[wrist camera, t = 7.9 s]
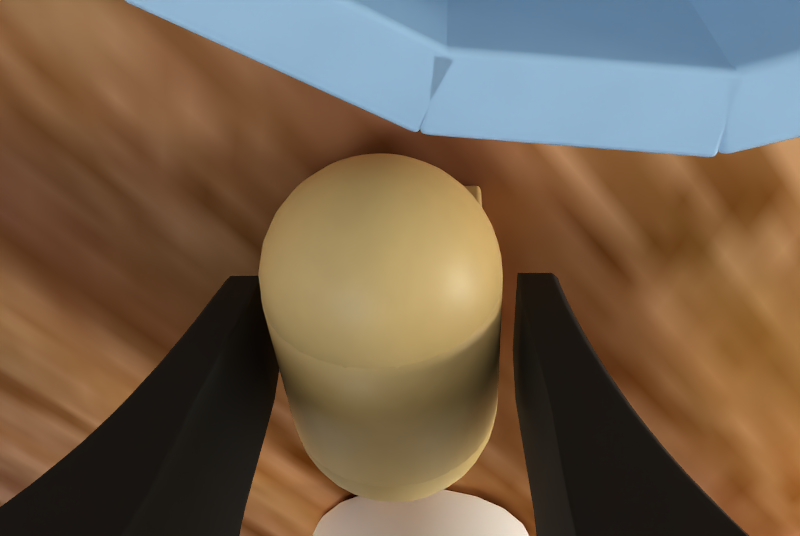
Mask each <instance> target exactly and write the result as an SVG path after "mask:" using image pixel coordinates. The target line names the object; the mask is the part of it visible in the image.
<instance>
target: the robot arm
mask: <svg viewBox="0 0 800 536" xmlns="http://www.w3.org/2000/svg"><path fill="white" fill-rule="evenodd" d="M513 361H514V380H515V397H516V405H517V411H518V417H519V423H520V430H521V436H522V442H523V448H524V454H525V460H526V466H527V472H528V478H529V484H530V490H531V496H532V502H533V508H534V516H535V524H536V532H537V536H749V535H748V534H747V533H746V532H745V531H744V530H743V529H741V528H740V527H739V526H738V525H737V524H736V523H735V522H734V521H733V520H732V519H731V518H730V517H729V516H728V515H727V514H726V513H725V512H724V511H723V510H722V509H721V508H720V507H719V506H718V505H717V504H716V503H715V502H714V501H713V500H712V499H711V498H710V497H709V496H708V495H707V494H706V493H705V492H704V491H703V490H702V489H701V488H700V487H699V486H698V485H697V484H696V483H695V481H694V480H693V479H692V478H691V477H690V476H689V475H688V474H687V473H686V472H685V471H684V470H683V469H682V467H681V466H680V465H679V464H678V463H677V462H676V461H675V460H674V458H673V457H672V456H671V455H670V454H669V453H668V452H667V450H666V449H665V448H664V447H663V446H662V444H661V443H660V442H659V441H658V440H657V438H656V437H655V436H654V435H653V433H652V432H651V431H650V430H649V429H648V427H647V426H646V425H645V423H644V422H643V421H642V420H641V418H640V417H639V416H638V414H637V413H636V412H635V410H634V409H633V408H632V406H631V405H630V404H629V402H628V401H627V399H626V398H625V396H624V395H623V394H622V392H621V391H620V389H619V388H618V386H617V385H616V384H615V382H614V381H613V379H612V378H611V376H610V375H609V373H608V372H607V370H606V369H605V367H604V365H603V364H602V362H601V360H600V359H599V357H598V355H597V354H596V352H595V351H594V349H593V347H592V346H591V344H590V342H589V341H588V339H587V337H586V336H585V334H584V332H583V330H582V328H581V327H580V325H579V323H578V321H577V319H576V317H575V315H574V313H573V311H572V309H571V307H570V305H569V303H568V301H567V299H566V297H565V295H564V293H563V290H562V288H561V286H560V283H559V280H558V278H557V277H556V276H555V275H554V274H553V273H518V275H517V291H516V307H515V323H514V339H513ZM278 373H279V365H278V362H277V358H276V354H275V351H274V347H273V344H272V340H271V336H270V333H269V329H268V325H267V322H266V318H265V314H264V311H263V306H262V301H261V291H260V283H259V276H230V277H229V278H228V279H227V280H226V281H225V282H224V284H223V285H222V286H221V288H220V289H219V290H218V291H217V293H216V294H215V295H214V297H213V298H212V299H211V301H210V302H209V303H208V304H207V306H206V307H205V308H204V310H203V311H202V312H201V313H200V315H199V316H198V317H197V319H196V320H195V321H194V322H193V324H192V325H191V326H190V327H189V329H188V330H187V331H186V332H185V334H184V335H183V336H182V337H181V338H180V340H179V341H178V342H177V343H176V344H175V346H174V347H173V348H172V349H171V350H170V352H169V353H168V354H167V355H166V356H165V358H164V359H163V360H162V361H161V362H160V363H159V365H158V366H157V367H156V368H155V369H154V370H153V371H152V372H151V373H150V375H149V376H148V377H147V378H146V379H145V380H144V381H143V382H142V383H141V384H140V385H139V387H138V388H137V389H136V390H135V391H134V392H133V393H132V394H131V395H130V396H129V397H128V398H127V399H126V401H125V402H124V403H123V404H122V405H121V406H120V407H119V408H118V409H117V410H116V411H115V412H114V413H113V414H112V415H111V416H110V417H109V418H107V419H106V420H105V421H104V422H103V423H102V424H101V425H100V426H99V427H98V428H97V429H96V430H95V431H94V432H93V433H92V434H90V435H89V436H88V437H87V438H86V439H85V440H84V441H83V442H82V443H81V444H79V445H78V446H77V447H76V448H75V449H74V450H72V451H71V452H70V453H69V454H68V455H67V456H65V457H64V458H63V459H62V460H60V461H59V462H58V463H57V464H56V465H54V466H53V467H52V468H51V469H49V470H48V471H47V472H46V473H45V474H43V475H42V476H41V477H40V478H38V479H37V480H36V481H35V482H34V483H32V484H31V485H30V486H28V487H27V488H26V489H24V490H23V491H22V492H20V493H19V494H18V495H16V496H15V497H13V498H12V499H11V500H9V501H8V502H7V503H5V504H4V505H3V506H1V507H0V536H239V534H240V529H241V524H242V519H243V515H244V511H245V506H246V502H247V499H248V495H249V491H250V488H251V484H252V480H253V477H254V473H255V470H256V466H257V462H258V459H259V455H260V451H261V448H262V444H263V441H264V437H265V433H266V429H267V426H268V422H269V418H270V415H271V411H272V407H273V403H274V399H275V393H276V387H277V380H278Z"/></svg>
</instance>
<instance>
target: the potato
mask: <svg viewBox="0 0 800 536" xmlns="http://www.w3.org/2000/svg"><path fill="white" fill-rule="evenodd" d="M258 276H259V283H260V291H261V301H262V306H263V311H264V314H265V318H266V322H267V325H268V329H269V333H270V336H271V340H272V344H273V347H274V351H275V354H276V358H277V362H278V365H279V369H280V373H281V376H282V380H283V384H284V387H285V391H286V395H287V398H288V402H289V405H290V409H291V413H292V416H293V420H294V424H295V427H296V430H297V433H298V435H299V438H300V439H301V441H302V444H303V446H304V448H305V450H306V452H307V454H308V455H309V457H310V458H311V459H312V461H313V462H314V463H315V465H316V466H317V467H318V468H319V469H320V470H321V471H322V472H323V473H324V474H325V475H326V476H327V477H328V478H330V479H331V480H332V481H333V482H334V483H335V484H337V485H338V486H339V487H341V488H343V489H345V490H347V491H349V492H351V493H353V494H355V495H358V496H361V497H365V498H368V499H371V500H376V501H384V502H407V501H413V500H417V499H421V498H425V497H428V496H430V495H433V494H435V493H437V492H439V491H441V490H443V489H445V488H447V487H449V486H450V485H452V484H453V483H454V482H456V481H457V480H459V479H460V478H461V477H463V476H464V475H465V473H466V472H467V471H468V470H469V469H470V468H471V467H472V466H473V465H474V464H475V462H476V461H477V459H478V457H479V456H480V454H481V453H482V451H483V449H484V448H485V446H486V444H487V442H488V441H489V438H490V435H491V432H492V429H493V425H494V421H495V416H496V410H497V400H498V377H499V354H500V331H501V308H502V286H503V271H502V260H501V253H500V249H499V245H498V241H497V238H496V235H495V232H494V230H493V227H492V224H491V222H490V221H489V219H488V217H487V215H486V213H485V212H484V210H483V209H482V199H481V190H480V188H479V186H463V185H462V184H460V183H459V182H458V181H457V180H455V179H454V178H453V177H452V176H450V175H449V174H447V173H446V172H444V171H443V170H441V169H440V168H438V167H435V166H433V165H431V164H429V163H426V162H423V161H420V160H417V159H414V158H411V157H407V156H403V155H397V154H384V153H375V154H364V155H358V156H353V157H349V158H346V159H343V160H339V161H337V162H335V163H332V164H330V165H328V166H326V167H325V168H323V169H321V170H320V171H318V172H316V173H315V174H313V175H312V176H310V177H308V178H307V179H305V180H304V181H303V182H302V183H301V184H299V185H298V186H297V187H296V188H295V189H294V190H293V192H292V193H291V194H290V195H289V196H288V198H287V199H286V200H285V201H284V203H283V204H282V205H281V206H280V208H279V209H278V210H277V212H276V214H275V216H274V218H273V220H272V222H271V224H270V227H269V229H268V231H267V234H266V236H265V238H264V241H263V246H262V252H261V259H260V266H259V274H258Z"/></svg>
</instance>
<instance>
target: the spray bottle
mask: <svg viewBox="0 0 800 536" xmlns="http://www.w3.org/2000/svg"><path fill="white" fill-rule="evenodd" d="M312 536H529V535H528V533H527V531H526V529H525V527H524V525H523V524H522V523H521V522H520V521H519V520H517V519H516V518H515V517H514V516H513V515H511V514H510V513H509V512H508V511H507V510H505V509H504V508H502V507H500V506H497V505H495V504H493V503H490V502H488V501H486V500H483V499H481V498H479V497H476V496H473V495H468V494H463V493H458V492H454V491H449V490H444V489H443V490H441V491H439V492H437V493H435V494H433V495H430V496H428V497H425V498H421V499H417V500H413V501H407V502H384V501H376V500H371V499H368V498H365V497H361V496H357V497H354V498H351V499H349V500H346V501H343V502H341V503H339V504H338V505H337V506H335V507H334V508H333V509H331V510H330V511H329V512H328V513H326V514H325V515H324V516H322V518H321V520H320V521H319V523H318V524H317V526H316V529H315V531H314V533H313V535H312Z"/></svg>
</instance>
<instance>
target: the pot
mask: <svg viewBox="0 0 800 536" xmlns="http://www.w3.org/2000/svg"><path fill="white" fill-rule="evenodd" d="M125 1H126V2H127V3H129V4H132V5H134V6H136V7H138V8H141V9H143V10H145V11H147V12H149V13H152V14H154V15H156V16H158V17H160V18H163V19H165V20H167V21H169V22H171V23H174V24H176V25H178V26H180V27H183V28H185V29H187V30H189V31H191V32H194V33H196V34H198V35H200V36H202V37H205V38H207V39H209V40H211V41H213V42H216V43H218V44H220V45H222V46H225V47H227V48H229V49H231V50H233V51H236V52H238V53H240V54H242V55H244V56H247V57H249V58H251V59H253V60H255V61H258V62H260V63H262V64H264V65H266V66H269V67H271V68H273V69H275V70H278V71H280V72H282V73H284V74H286V75H289V76H291V77H293V78H295V79H297V80H300V81H302V82H304V83H306V84H308V85H311V86H313V87H315V88H317V89H320V90H322V91H324V92H326V93H328V94H331V95H333V96H335V97H337V98H339V99H342V100H344V101H346V102H348V103H350V104H353V105H355V106H357V107H359V108H362V109H364V110H366V111H368V112H370V113H373V114H375V115H377V116H379V117H381V118H384V119H386V120H388V121H390V122H392V123H395V124H397V125H399V126H401V127H403V128H406V129H408V130H410V131H412V132H417V131H418V130H421V132H422V133H424V134H426V135H436V136H449V137H462V138H474V139H487V140H499V141H512V142H525V143H537V144H550V145H562V146H575V147H588V148H600V149H613V150H625V151H638V152H651V153H663V154H676V155H688V156H701V157H712V156H715V155H716V154H717V153H718V152H720V153H725V154H730V153H734V152H738V151H742V150H747V149H751V148H755V147H759V146H764V145H768V144H772V143H776V142H780V141H785V140H789V139H793V138H797V137H800V0H125Z"/></svg>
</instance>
